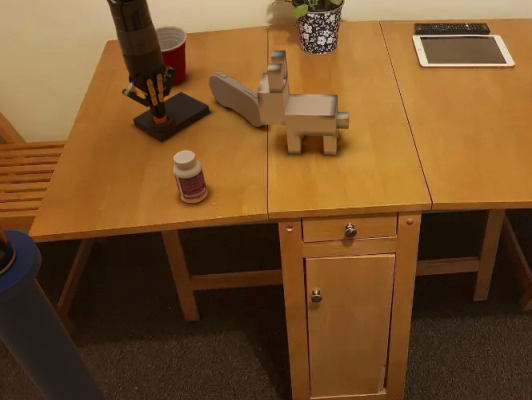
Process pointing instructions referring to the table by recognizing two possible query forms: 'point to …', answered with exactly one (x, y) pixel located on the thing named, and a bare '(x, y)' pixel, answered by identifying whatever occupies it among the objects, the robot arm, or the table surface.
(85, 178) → the table surface
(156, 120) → the button
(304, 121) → the toy llama
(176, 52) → the plastic cup
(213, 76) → the game controller
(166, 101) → the scale
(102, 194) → the table surface
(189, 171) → the pill bottle
